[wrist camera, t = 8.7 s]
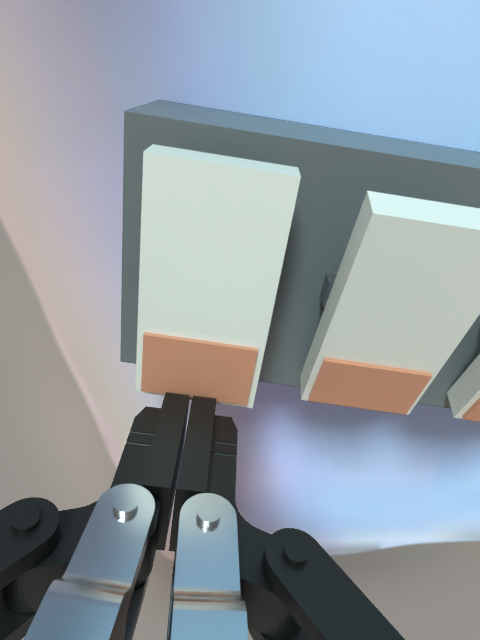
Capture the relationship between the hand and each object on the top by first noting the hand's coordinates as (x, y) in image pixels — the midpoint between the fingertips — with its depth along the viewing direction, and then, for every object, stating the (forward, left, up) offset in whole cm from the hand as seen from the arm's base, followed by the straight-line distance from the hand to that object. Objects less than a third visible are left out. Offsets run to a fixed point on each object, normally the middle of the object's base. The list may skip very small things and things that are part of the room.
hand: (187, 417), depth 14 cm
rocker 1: (0, -4, -1) cm, 4 cm away
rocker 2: (-5, -4, -1) cm, 7 cm away
